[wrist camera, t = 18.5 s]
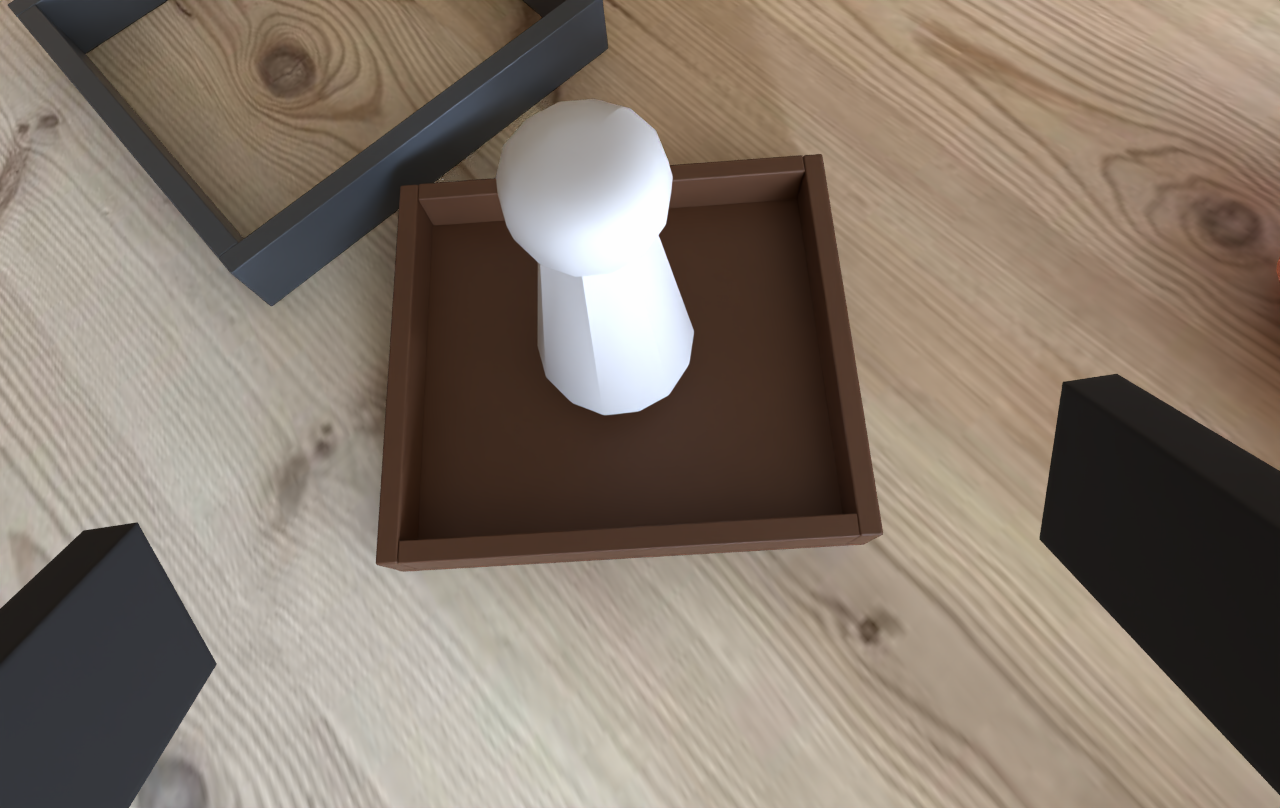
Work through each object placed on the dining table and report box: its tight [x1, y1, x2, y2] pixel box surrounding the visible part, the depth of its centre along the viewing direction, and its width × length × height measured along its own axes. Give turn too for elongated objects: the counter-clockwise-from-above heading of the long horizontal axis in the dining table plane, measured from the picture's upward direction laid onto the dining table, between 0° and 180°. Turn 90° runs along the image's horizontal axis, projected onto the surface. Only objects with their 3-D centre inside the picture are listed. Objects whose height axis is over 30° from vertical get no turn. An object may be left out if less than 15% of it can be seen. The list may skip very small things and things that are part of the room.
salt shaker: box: [496, 99, 694, 415], centre depth 22 cm, size 6×6×13 cm
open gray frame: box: [8, 0, 608, 306], centre depth 34 cm, size 20×20×3 cm
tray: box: [376, 154, 883, 571], centre depth 28 cm, size 18×16×3 cm
